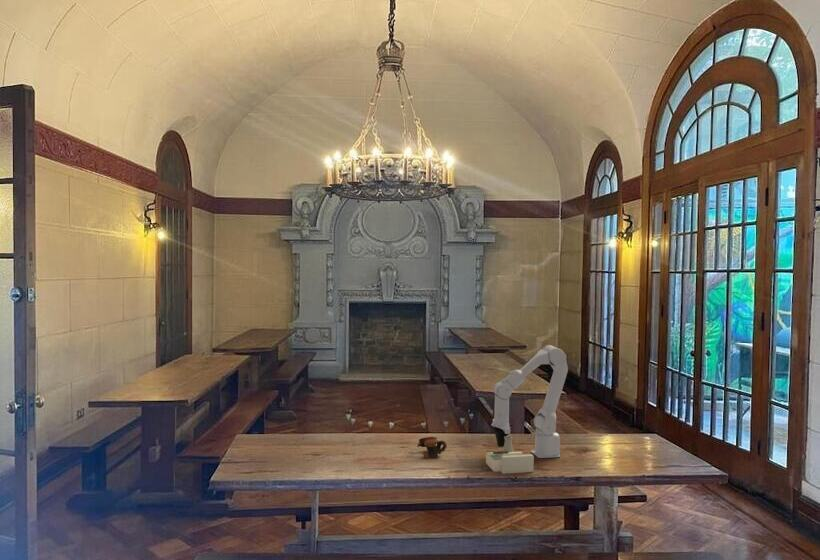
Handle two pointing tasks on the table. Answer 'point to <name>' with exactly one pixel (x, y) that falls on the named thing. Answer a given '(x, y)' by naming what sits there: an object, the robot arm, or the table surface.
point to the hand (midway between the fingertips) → (500, 446)
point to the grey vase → (508, 444)
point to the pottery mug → (432, 446)
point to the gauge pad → (508, 453)
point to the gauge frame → (510, 463)
